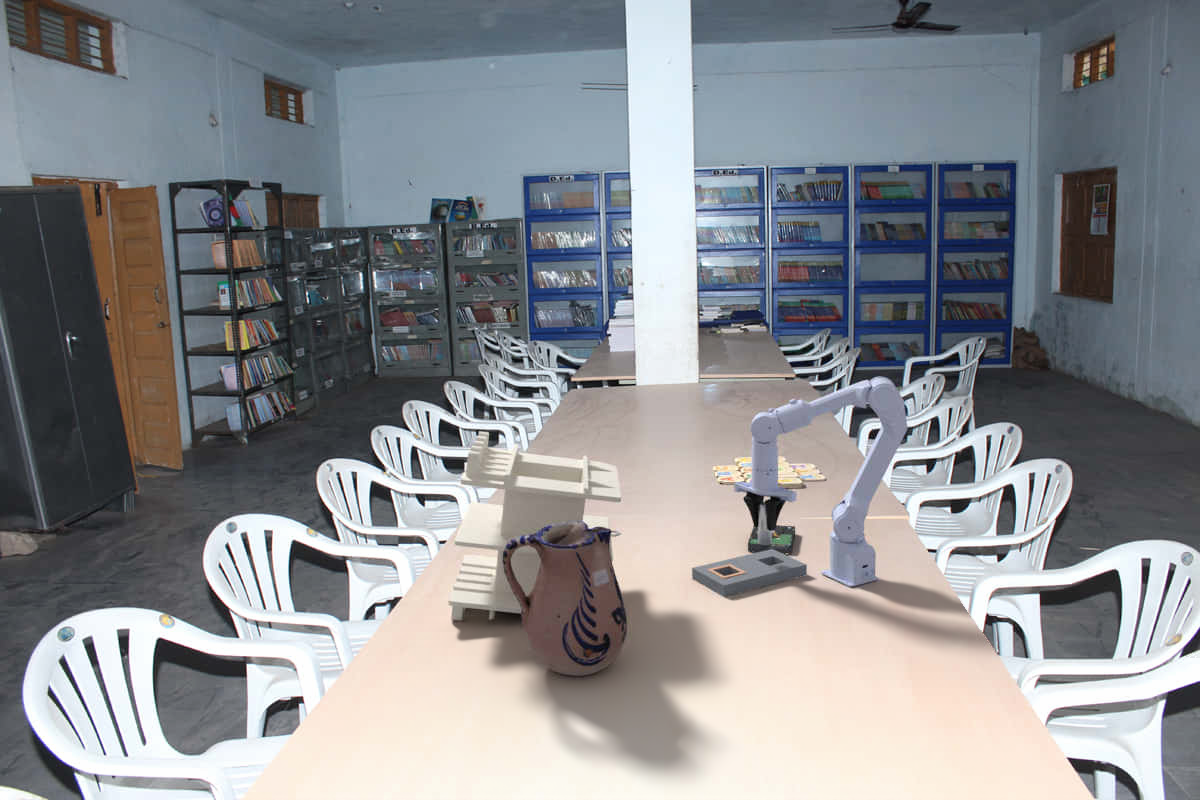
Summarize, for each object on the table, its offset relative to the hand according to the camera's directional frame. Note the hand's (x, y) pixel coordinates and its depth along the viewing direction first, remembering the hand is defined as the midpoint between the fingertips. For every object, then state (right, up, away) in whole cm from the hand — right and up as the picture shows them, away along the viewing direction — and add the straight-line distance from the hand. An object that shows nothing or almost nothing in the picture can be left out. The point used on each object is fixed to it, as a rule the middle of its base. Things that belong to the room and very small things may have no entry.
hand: (764, 527), depth 200 cm
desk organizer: (-49, -14, -7) cm, 51 cm away
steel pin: (0, -3, +1) cm, 3 cm away
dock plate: (-3, -11, 0) cm, 11 cm away
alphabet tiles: (+16, +4, +83) cm, 84 cm away
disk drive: (+6, -7, +21) cm, 23 cm away
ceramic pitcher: (-42, -19, -38) cm, 60 cm away
